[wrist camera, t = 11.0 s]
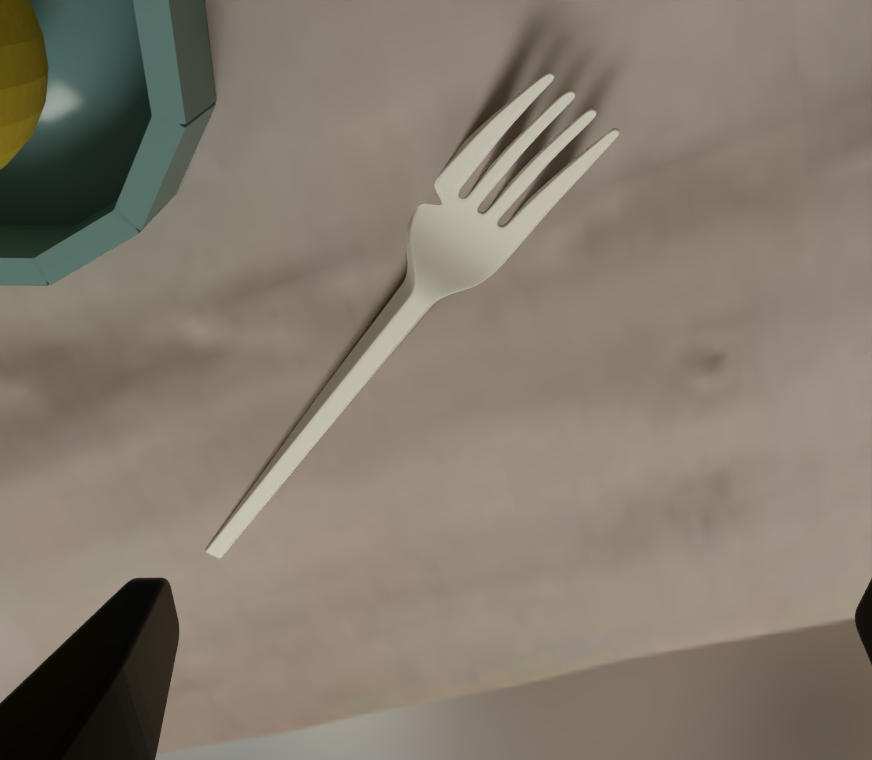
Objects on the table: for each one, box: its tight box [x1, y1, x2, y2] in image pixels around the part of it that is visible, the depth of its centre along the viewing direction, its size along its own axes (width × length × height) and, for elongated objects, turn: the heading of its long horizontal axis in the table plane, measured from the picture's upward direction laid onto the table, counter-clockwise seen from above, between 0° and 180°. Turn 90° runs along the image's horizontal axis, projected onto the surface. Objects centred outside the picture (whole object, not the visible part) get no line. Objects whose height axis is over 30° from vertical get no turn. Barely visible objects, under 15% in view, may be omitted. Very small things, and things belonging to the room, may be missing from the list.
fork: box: [205, 72, 619, 558], centre depth 22 cm, size 3×20×2 cm, turn 143°
